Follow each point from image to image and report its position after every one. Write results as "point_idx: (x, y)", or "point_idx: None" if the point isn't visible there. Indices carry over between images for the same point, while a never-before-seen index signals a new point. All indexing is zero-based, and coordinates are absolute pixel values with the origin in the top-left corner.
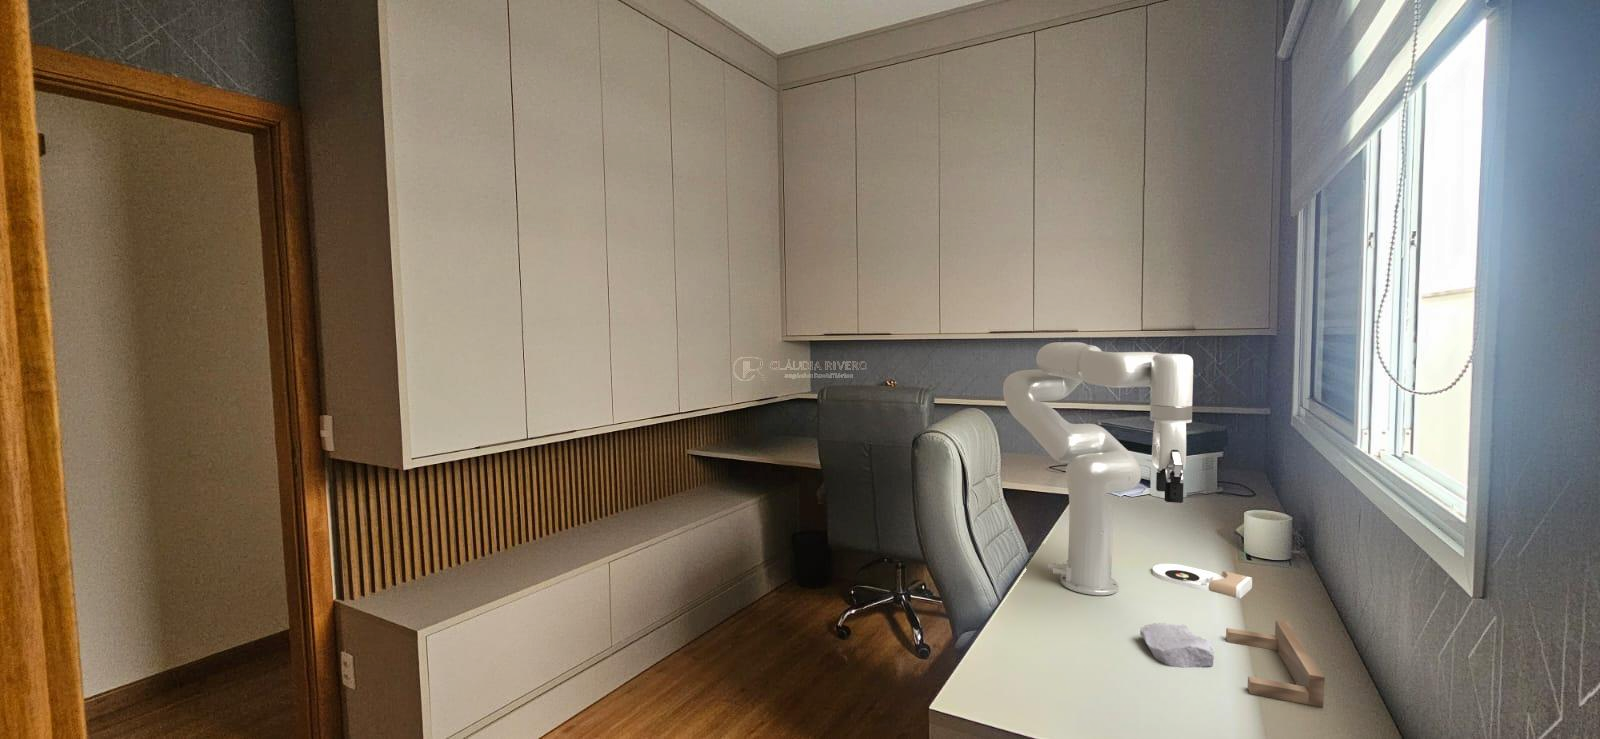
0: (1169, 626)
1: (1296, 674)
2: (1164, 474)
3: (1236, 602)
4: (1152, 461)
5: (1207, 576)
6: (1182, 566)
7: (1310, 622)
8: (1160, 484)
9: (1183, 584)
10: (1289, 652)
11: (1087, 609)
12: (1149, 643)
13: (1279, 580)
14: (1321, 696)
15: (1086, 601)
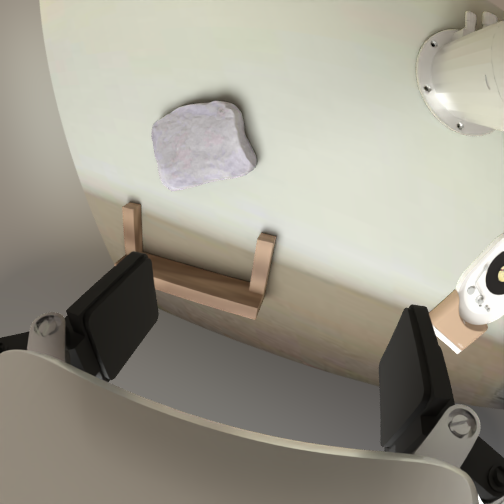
0: (227, 148)
1: (165, 265)
2: (402, 418)
3: None
4: (373, 482)
5: (496, 306)
6: None
7: (347, 356)
8: (407, 346)
9: (476, 259)
10: (190, 280)
11: (343, 39)
12: (185, 108)
13: (468, 377)
14: None
15: (384, 48)
